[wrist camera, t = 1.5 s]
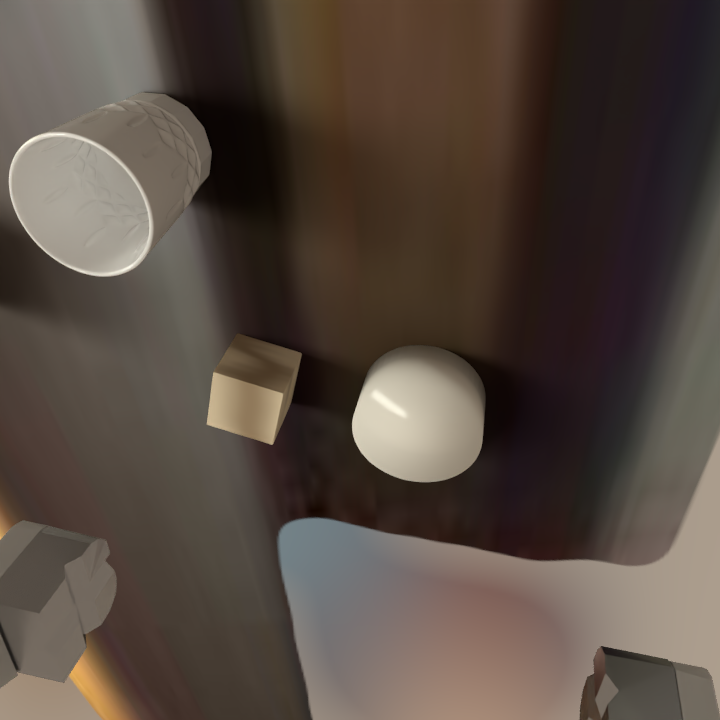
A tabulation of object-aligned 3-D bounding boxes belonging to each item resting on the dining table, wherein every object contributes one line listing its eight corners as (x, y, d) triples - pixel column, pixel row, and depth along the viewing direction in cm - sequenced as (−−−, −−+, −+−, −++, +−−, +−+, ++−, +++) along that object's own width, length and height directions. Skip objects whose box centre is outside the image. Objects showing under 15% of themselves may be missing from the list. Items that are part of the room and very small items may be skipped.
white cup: (215, 86, 41) (139, 139, 33) (227, 211, 45) (163, 284, 37) (91, 76, 42) (-11, 126, 34) (115, 199, 47) (30, 268, 39)
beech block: (230, 383, 54) (206, 424, 50) (237, 332, 51) (213, 372, 47) (291, 402, 54) (272, 444, 50) (302, 352, 51) (283, 393, 47)
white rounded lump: (352, 420, 54) (340, 460, 50) (380, 328, 49) (368, 365, 45) (463, 454, 54) (458, 496, 50) (503, 366, 48) (501, 406, 45)
